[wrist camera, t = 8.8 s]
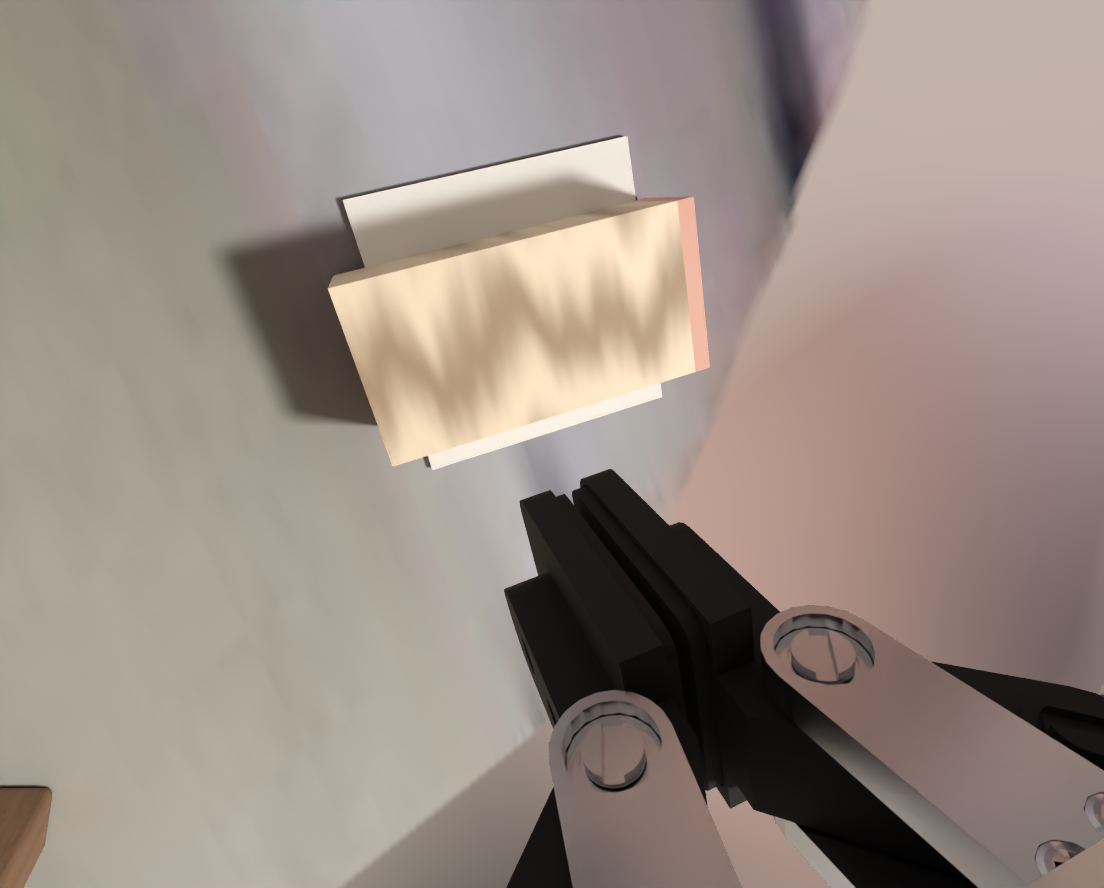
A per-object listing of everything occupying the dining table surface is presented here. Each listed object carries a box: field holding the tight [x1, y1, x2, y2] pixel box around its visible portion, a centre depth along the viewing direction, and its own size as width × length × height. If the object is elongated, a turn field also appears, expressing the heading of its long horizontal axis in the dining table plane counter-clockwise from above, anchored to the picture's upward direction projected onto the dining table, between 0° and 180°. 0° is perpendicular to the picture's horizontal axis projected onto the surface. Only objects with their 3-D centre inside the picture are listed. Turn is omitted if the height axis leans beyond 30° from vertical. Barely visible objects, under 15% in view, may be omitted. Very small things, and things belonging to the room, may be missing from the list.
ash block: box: [328, 197, 710, 466], centre depth 28 cm, size 8×5×16 cm
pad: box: [343, 136, 662, 470], centre depth 31 cm, size 14×14×1 cm
